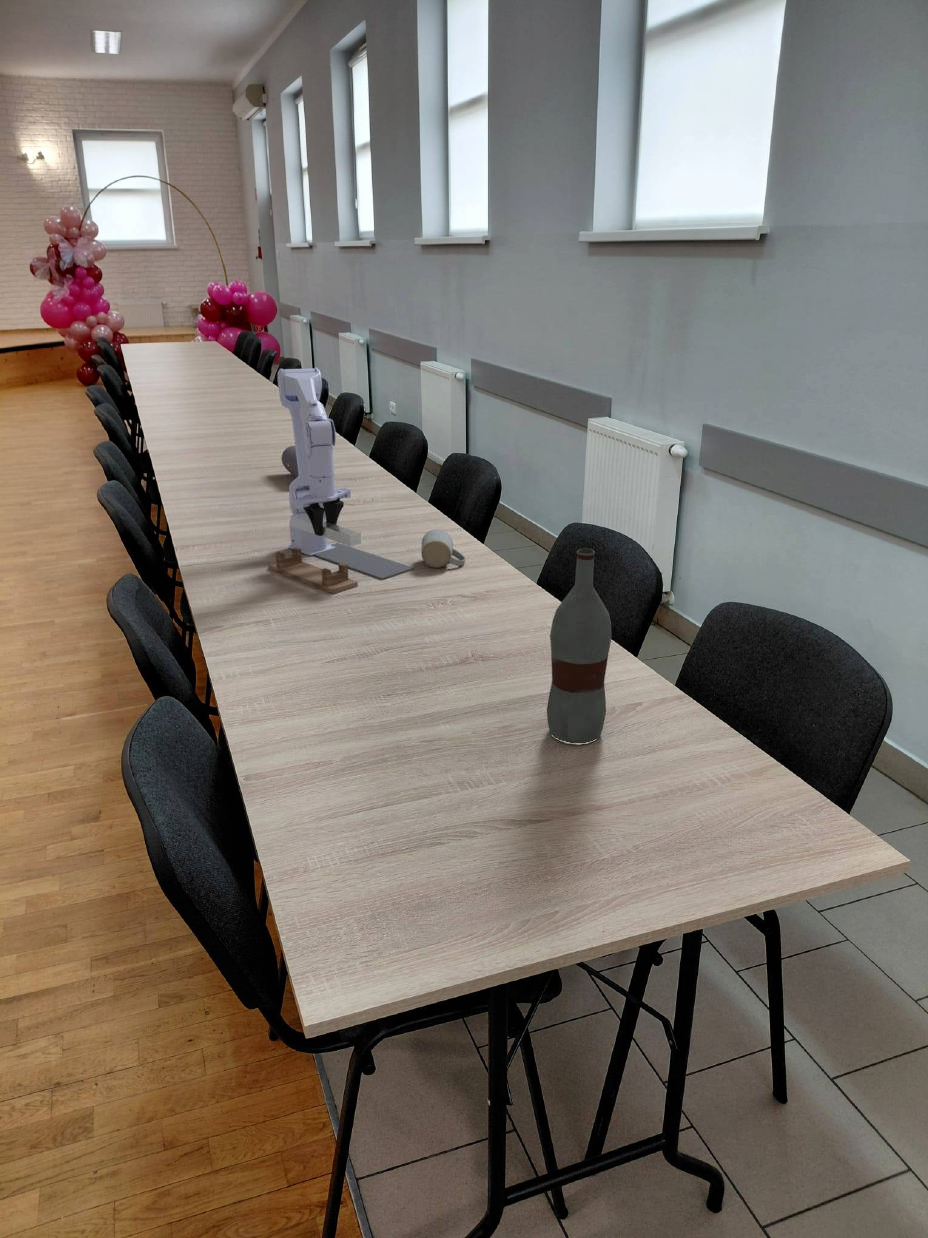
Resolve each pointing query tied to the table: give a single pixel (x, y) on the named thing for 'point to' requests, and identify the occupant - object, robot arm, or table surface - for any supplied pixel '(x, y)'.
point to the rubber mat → (364, 561)
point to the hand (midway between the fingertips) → (324, 533)
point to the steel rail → (328, 530)
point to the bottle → (579, 659)
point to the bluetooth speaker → (290, 460)
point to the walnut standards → (312, 572)
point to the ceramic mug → (439, 550)
